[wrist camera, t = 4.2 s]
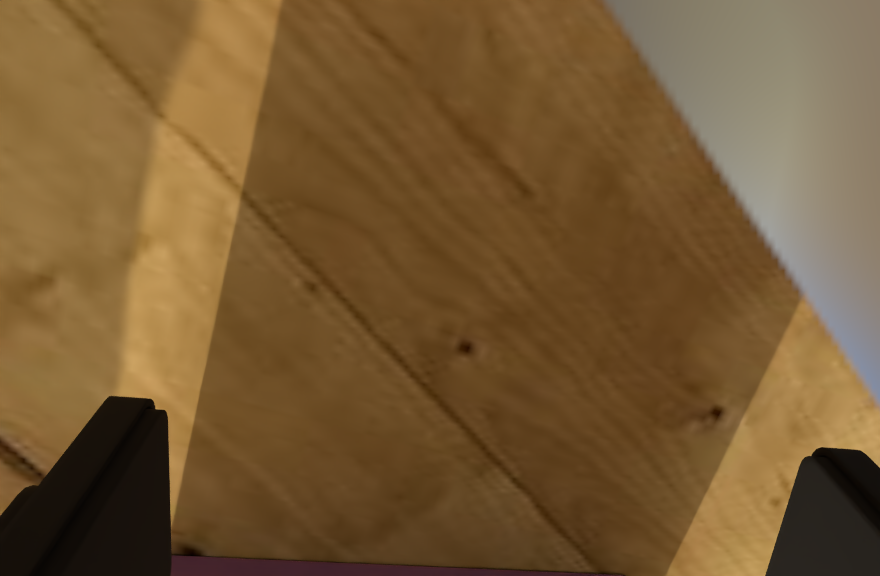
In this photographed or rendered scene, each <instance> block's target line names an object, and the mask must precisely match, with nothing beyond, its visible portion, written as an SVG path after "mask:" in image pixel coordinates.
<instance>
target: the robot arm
mask: <svg viewBox="0 0 880 576" xmlns="http://www.w3.org/2000/svg"><path fill="white" fill-rule="evenodd" d="M171 567H172V556H171V518H170V480H169V442H168V416H167V413H166V411H165V410H156V409H155V405H154V402H153V400H152V399H146V398H132V397H118V396H109V397H108V398H107V399H106V400H105V401H104V402H103V404H102V405H101V406H100V408H99V409H98V410H97V411H96V413H95V414H94V415H93V417H92V418H91V419H90V420H89V422H88V423H87V424H86V426H85V427H84V428H83V429H82V431H81V432H80V433H79V434H78V436H77V437H76V438H75V440H74V441H73V442H72V443H71V445H70V446H69V447H68V449H67V450H66V451H65V452H64V454H63V455H62V456H61V457H60V459H59V460H58V461H57V463H56V464H55V465H54V466H53V468H52V469H51V470H50V472H49V473H48V474H47V475H46V477H45V478H44V479H43V481H42V482H41V483H40V484H39V486H35V485H32V486H29V487H26V488H24V489H23V490H22V491H21V492H20V493H19V494H18V495H17V496H16V497H15V499H14V500H13V501H12V502H11V504H10V505H9V506H8V507H7V509H6V510H5V511H4V512H3V514H2V515H1V516H0V576H170V575H171ZM765 576H880V468H879V467H878V466H877V465H876V464H875V463H874V462H873V461H872V460H871V459H870V458H869V457H868V456H867V455H866V454H865V453H863V452H862V451H860V450H851V449H837V448H824V447H821V448H818V449H816V450H815V451H814V452H813V454H812V456H807V457H805V458H804V459H803V460H802V462H801V464H800V467H799V470H798V473H797V476H796V479H795V483H794V486H793V489H792V492H791V495H790V499H789V502H788V505H787V508H786V511H785V515H784V518H783V521H782V524H781V527H780V531H779V534H778V537H777V540H776V543H775V547H774V550H773V553H772V556H771V559H770V563H769V566H768V569H767V572H766V575H765Z"/></svg>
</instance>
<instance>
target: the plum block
mask: <svg viewBox="0 0 880 576" xmlns="http://www.w3.org/2000/svg"><path fill="white" fill-rule="evenodd" d="M171 556H172V567H171V575H170V576H625V575H611V574H588V573H565V572H542V571H519V570H496V569H473V568H450V567H427V566H405V565H382V564H359V563H336V562H313V561H290V560H267V559H244V558H221V557H199V556H176V555H171Z"/></svg>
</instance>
